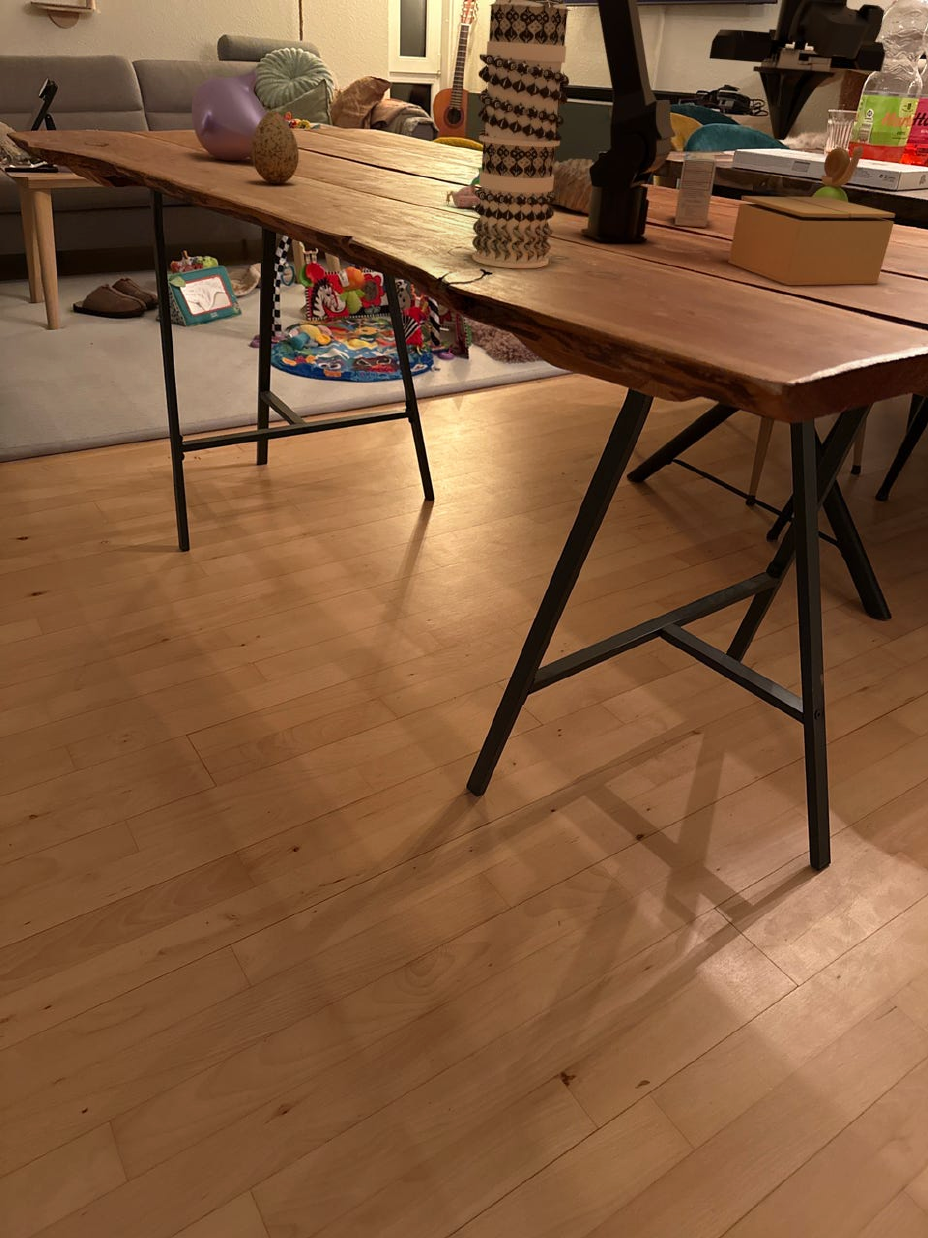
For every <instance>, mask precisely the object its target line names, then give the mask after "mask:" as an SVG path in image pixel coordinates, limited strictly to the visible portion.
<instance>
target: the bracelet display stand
mask: <svg viewBox="0 0 928 1238" xmlns="http://www.w3.org/2000/svg"><path fill="white" fill-rule="evenodd" d="M489 6H490V19H489V37H488V41H487V42H486V54H484V53H480V54H479V59H480V60H481V61H482V62H483V63H484V64H485V65H484V67H483V68H481V69H480V70H479V71H478V77H479V78H480V79H481V80H482V81H483V82H484V83H486V84H487V86H486V87H485V88H484V89H483V90H482V91H481V92H480V93H479V94H478V100H479V101H480V102H481V103H482V104H483V105H484V106H483V107H481V109H480V110H479V111H478V112H477V116H478V118H480V120H481V121H482V122H483V123H485V127H484V128H482V129H481V130H480V132H479V133H478V140H479V141H481V142H483V143H482V155H481V167H482V170H481V171H480V178H479V185H478V186H479V188H478V189H477V190H476V192H475V195H476V196H477V197H478V198H479V199H480V200H481V202H480V204H478V205H477V206H474V208H473V209H474V212H475V213H477V214H478V215H479V217H478V220H476V221H475V222H474V223H473V225H472V230H473V232H474V233H475V234H476V236H475V237H474V238H473V239H472V242H471V244H472V246H473V247H474V248H475V250H476V251H474V253H473V254H472V260H473V261H475V262H477V263H479V264H483V265H485V266H491V267H498V268H506V269H507V268H508V269H535V268H537V269H538V268H542V267H545V266H548V264H549V257H547V256H546V255H547V254H548V253H549V252H550V250H551V248H552V246H551V243H550V242H549V241H548V240H549V238H551V236H552V235H553V229H552V227H551V226H550V225H549V223H548V222H549V221H548V220H550V219H552V217H553V216H554V214H555V212H554V211H553V210H552V209H551V208H550V207H549V205H552V203H553V201H554V200H555V195H554V194H552V193H551V191H552V190H553V181H554V175H553V172H552V171H553V164H554V163H555V149H556V147H559V146H560V145H561V141H562V140H563V136H562V135H561V134H560V133H559V132H558V131H557V129H559V128H560V127H561V126H563V125H564V124H565V120H564V117H563V116H561V115H560V113H558V107H560V109H561V106H563V105H565V104H566V103H567V102H568V96H567V95H566V93H564V91H563V89H564V88H566V87H568V85H570V78H569V76H567V75H566V74H565V72H564V71H563V72H562V66H563V64H564V63H566V55H567V45H565V44H566V34H567V21H568V20H567V19H568V16H569V15H568V14H569V12H572V9H568V7H567V6H566V3H565V1H564V0H495V1H494V2H493V3H491V4H489Z"/></svg>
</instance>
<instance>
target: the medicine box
mask: <svg viewBox="0 0 928 1238" xmlns="http://www.w3.org/2000/svg"><path fill="white" fill-rule="evenodd" d="M716 168H717V158H716V156H715V155H714V154H707V153H706V154H704V153H686V154H684V158H683V162H682V168H681V174H680V175H681V176H680V181H679V186H678V187H679V188H678V195H677V201H676V206H675V207H676V208H675V214H674V215H675V217H674V218H675V220H674V225H675V226H681V227H690V228H691V227H692V228H701V229H705V228H706V227H707V223H708V217H709V210H710V206H711V199H712V194H713V193H712V192H713V188H714V187H713V186H714V180H715V173H716Z"/></svg>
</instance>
